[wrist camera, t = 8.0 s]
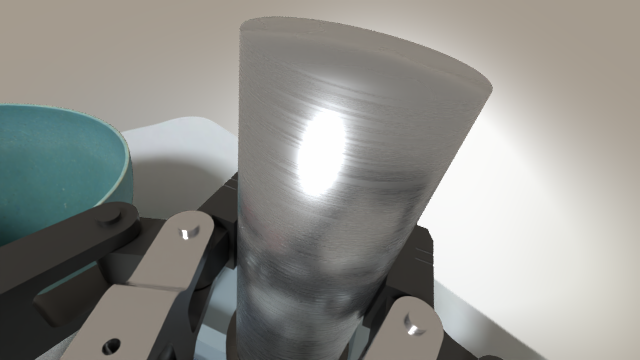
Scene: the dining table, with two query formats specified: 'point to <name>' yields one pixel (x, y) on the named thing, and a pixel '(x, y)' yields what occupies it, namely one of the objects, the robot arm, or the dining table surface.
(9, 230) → the teal round bowl
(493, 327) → the dining table surface
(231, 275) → the bin
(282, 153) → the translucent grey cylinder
